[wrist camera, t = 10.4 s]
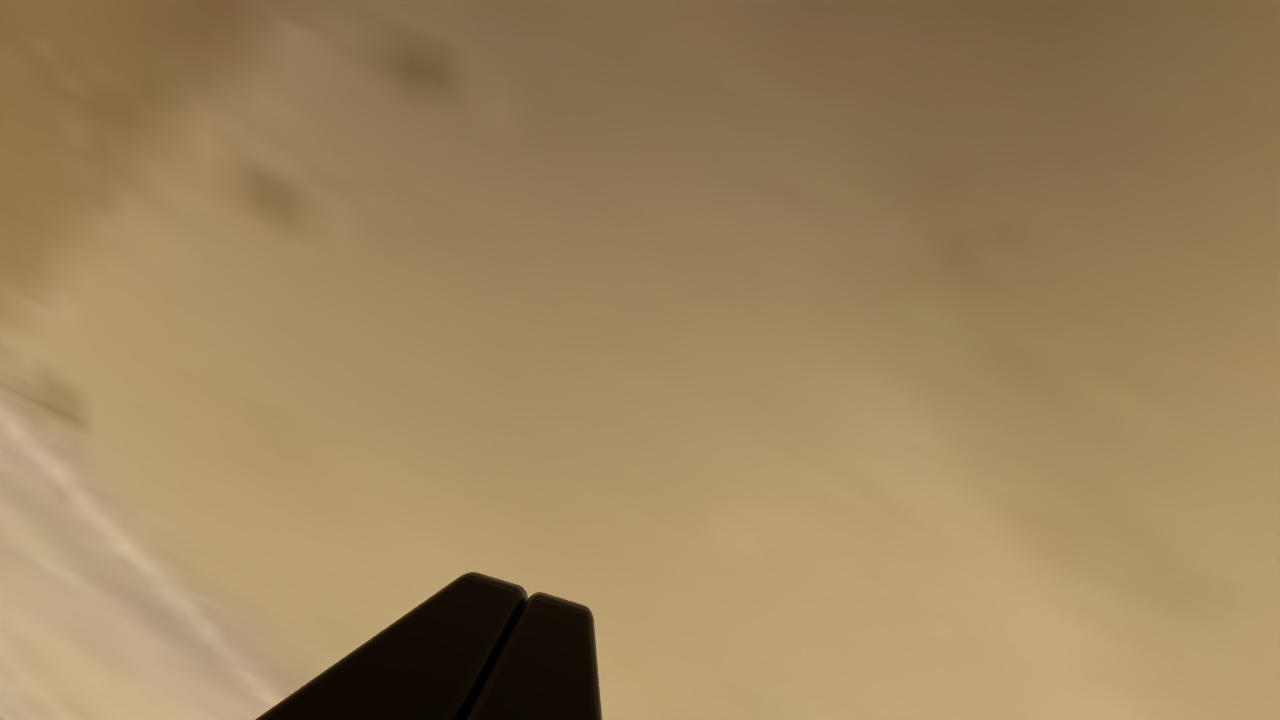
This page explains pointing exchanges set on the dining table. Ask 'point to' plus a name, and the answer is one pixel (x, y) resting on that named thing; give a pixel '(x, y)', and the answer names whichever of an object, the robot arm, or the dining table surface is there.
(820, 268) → the dining table surface
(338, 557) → the dining table surface
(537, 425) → the dining table surface
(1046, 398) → the dining table surface
